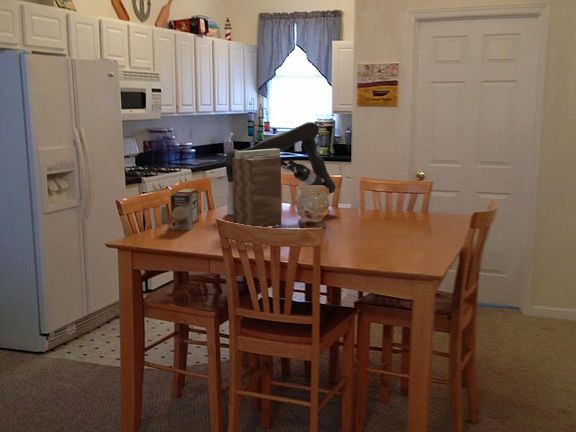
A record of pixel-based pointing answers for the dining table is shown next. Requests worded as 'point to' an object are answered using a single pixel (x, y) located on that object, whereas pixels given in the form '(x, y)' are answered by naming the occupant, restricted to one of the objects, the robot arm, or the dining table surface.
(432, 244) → the dining table surface
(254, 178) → the shelf stand
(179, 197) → the coffee box
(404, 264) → the dining table surface
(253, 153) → the sage bar
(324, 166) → the robot arm
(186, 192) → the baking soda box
